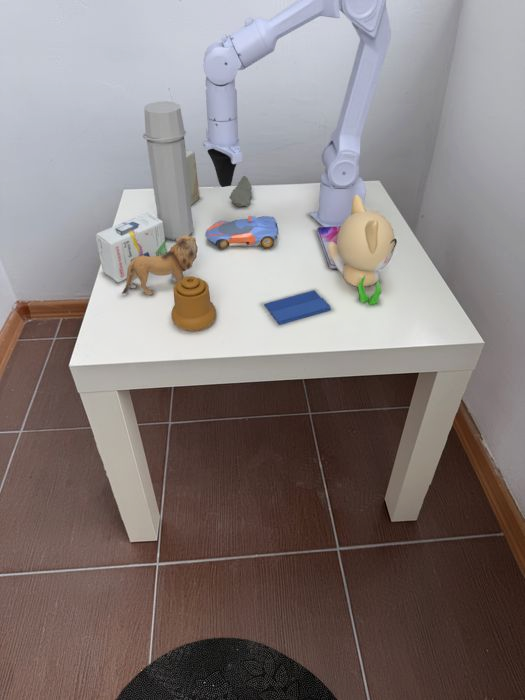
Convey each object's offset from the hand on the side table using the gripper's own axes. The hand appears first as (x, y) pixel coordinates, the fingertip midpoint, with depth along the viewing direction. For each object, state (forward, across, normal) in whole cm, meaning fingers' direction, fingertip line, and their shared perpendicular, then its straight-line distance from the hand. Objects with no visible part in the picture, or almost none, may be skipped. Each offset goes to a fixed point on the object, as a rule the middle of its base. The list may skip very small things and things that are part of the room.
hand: (225, 185), depth 105 cm
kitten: (+9, +32, +14) cm, 36 cm away
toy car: (+9, +8, 0) cm, 12 cm away
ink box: (+4, +7, -17) cm, 19 cm away
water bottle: (+8, 0, -12) cm, 14 cm away
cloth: (+8, +34, 0) cm, 35 cm away
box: (+9, -14, -5) cm, 17 cm away
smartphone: (+8, +20, +17) cm, 27 cm away
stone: (+7, -12, +6) cm, 15 cm away
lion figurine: (+9, +17, -19) cm, 27 cm away
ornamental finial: (+9, +29, -18) cm, 35 cm away
